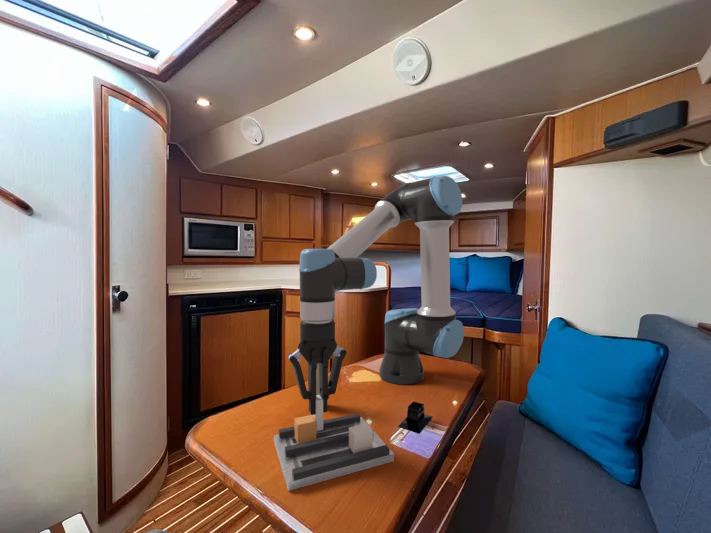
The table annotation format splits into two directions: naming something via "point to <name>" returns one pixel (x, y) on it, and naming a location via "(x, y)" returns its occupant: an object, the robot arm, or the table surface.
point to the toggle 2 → (360, 438)
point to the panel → (324, 456)
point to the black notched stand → (415, 418)
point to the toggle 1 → (305, 429)
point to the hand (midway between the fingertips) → (318, 427)
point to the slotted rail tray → (326, 442)
